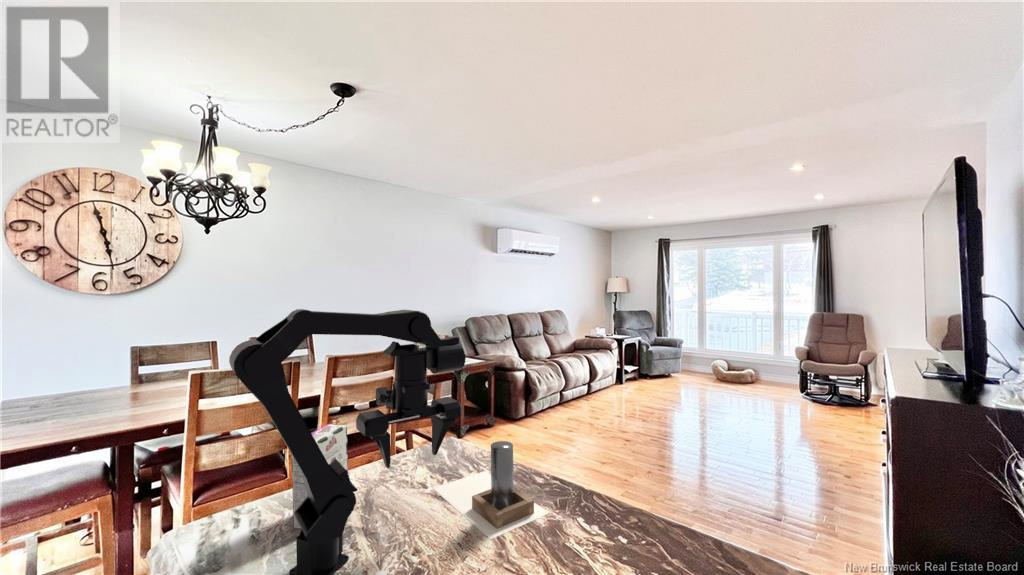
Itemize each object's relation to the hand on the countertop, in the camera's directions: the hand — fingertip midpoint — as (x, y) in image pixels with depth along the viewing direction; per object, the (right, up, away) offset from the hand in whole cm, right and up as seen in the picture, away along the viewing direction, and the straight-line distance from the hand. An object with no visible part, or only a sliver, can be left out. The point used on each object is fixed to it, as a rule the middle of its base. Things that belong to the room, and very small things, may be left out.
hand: (411, 460), depth 77 cm
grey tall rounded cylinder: (+17, -12, +5) cm, 21 cm away
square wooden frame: (+17, -12, +5) cm, 21 cm away
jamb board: (+14, -13, +9) cm, 21 cm away
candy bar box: (-19, -13, +5) cm, 24 cm away
